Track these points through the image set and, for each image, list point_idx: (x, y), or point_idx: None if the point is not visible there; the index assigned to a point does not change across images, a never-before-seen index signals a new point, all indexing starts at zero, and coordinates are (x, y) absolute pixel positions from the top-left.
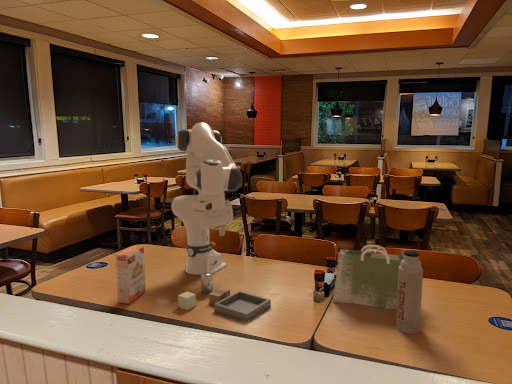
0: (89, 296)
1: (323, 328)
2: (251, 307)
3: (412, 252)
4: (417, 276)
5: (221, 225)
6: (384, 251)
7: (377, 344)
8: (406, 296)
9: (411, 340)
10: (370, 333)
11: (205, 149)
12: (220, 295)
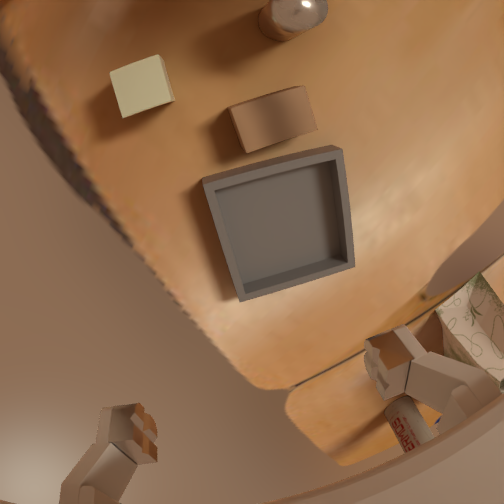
0: None
1: (331, 375)
2: (301, 238)
3: None
4: None
5: (451, 410)
6: None
7: (336, 421)
8: (405, 452)
9: (369, 423)
10: (359, 403)
11: None
12: (256, 149)
